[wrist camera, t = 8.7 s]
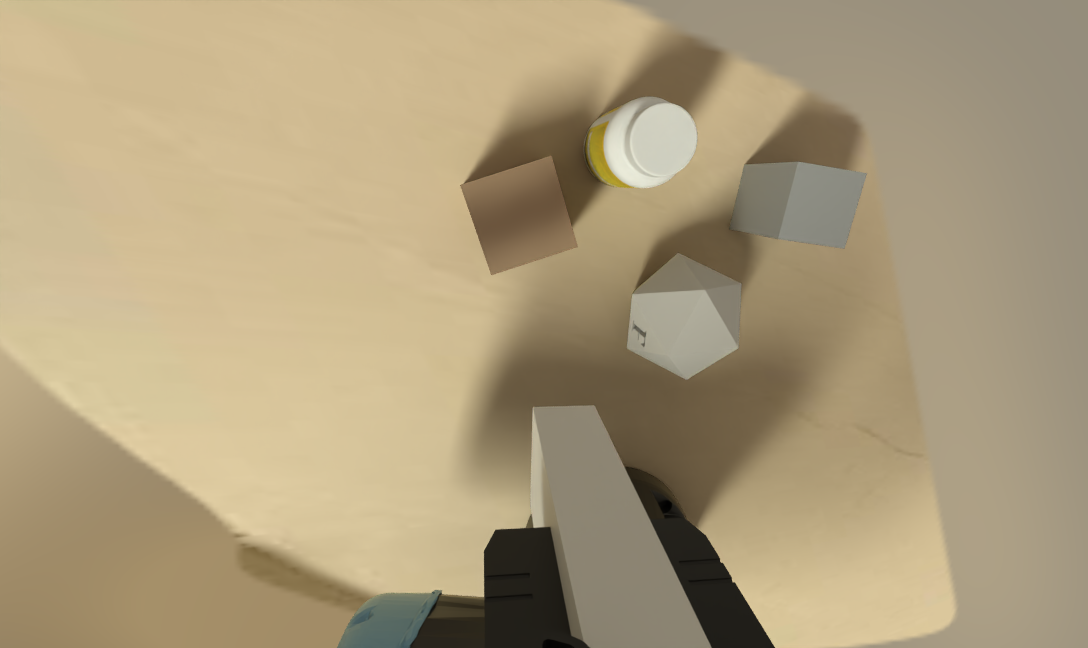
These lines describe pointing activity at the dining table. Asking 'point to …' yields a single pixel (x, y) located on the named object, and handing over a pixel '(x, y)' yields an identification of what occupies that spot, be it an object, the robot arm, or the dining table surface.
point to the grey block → (797, 202)
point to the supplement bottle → (640, 143)
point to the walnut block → (520, 215)
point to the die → (685, 317)
